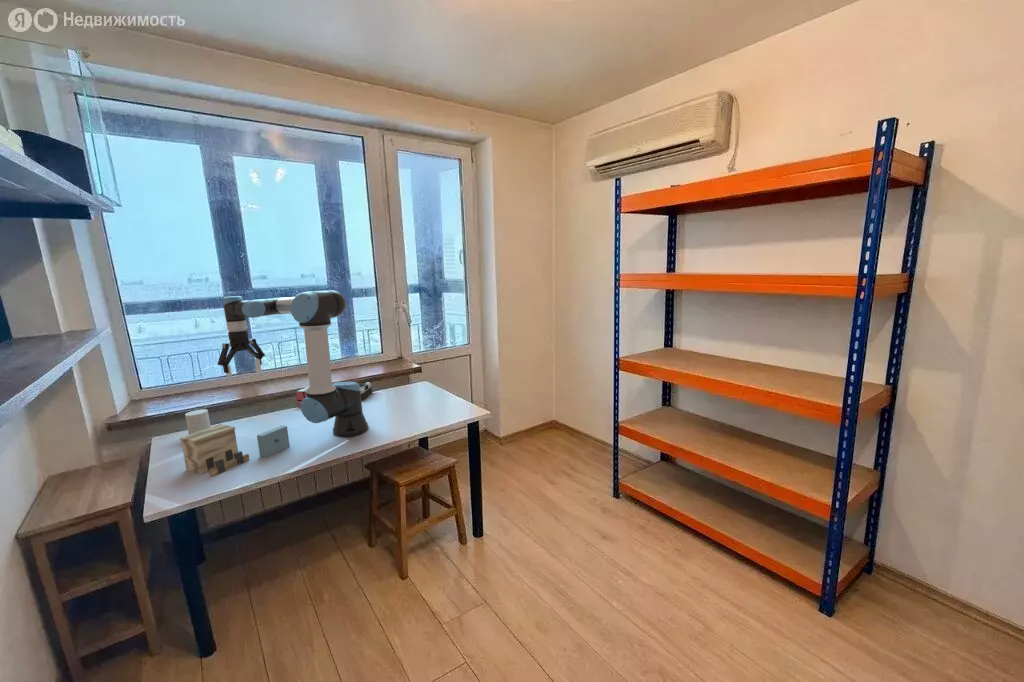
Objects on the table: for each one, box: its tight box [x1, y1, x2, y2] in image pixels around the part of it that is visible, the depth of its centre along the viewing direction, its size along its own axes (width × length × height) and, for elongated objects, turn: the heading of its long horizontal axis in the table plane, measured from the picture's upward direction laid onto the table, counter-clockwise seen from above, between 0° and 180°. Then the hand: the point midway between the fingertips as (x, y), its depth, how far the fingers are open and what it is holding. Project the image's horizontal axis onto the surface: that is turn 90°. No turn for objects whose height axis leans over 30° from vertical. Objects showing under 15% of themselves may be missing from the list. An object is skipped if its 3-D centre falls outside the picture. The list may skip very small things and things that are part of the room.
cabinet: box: [179, 423, 250, 477], centre depth 157 cm, size 16×14×13 cm
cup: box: [184, 408, 212, 435], centre depth 185 cm, size 8×8×12 cm
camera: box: [358, 381, 373, 402], centre depth 234 cm, size 16×9×10 cm, turn 178°
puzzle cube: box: [295, 385, 309, 408], centre depth 224 cm, size 10×10×10 cm
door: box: [256, 425, 291, 458], centre depth 167 cm, size 4×11×9 cm, turn 156°
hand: (244, 376), depth 190 cm, fingers open, 13 cm apart
